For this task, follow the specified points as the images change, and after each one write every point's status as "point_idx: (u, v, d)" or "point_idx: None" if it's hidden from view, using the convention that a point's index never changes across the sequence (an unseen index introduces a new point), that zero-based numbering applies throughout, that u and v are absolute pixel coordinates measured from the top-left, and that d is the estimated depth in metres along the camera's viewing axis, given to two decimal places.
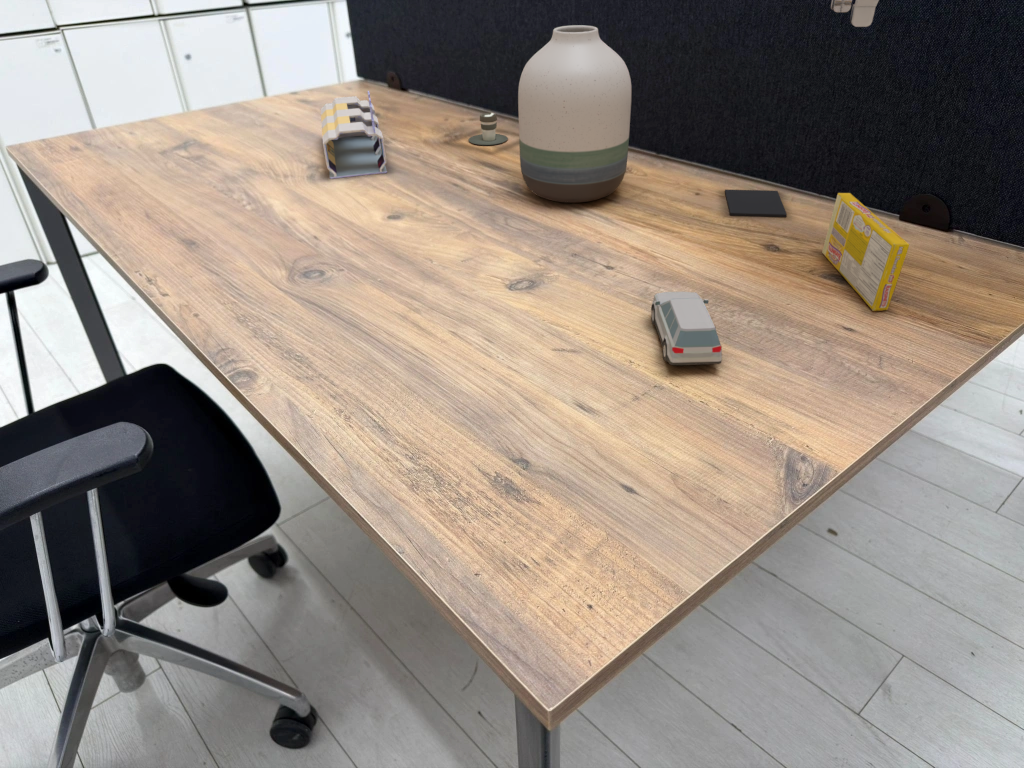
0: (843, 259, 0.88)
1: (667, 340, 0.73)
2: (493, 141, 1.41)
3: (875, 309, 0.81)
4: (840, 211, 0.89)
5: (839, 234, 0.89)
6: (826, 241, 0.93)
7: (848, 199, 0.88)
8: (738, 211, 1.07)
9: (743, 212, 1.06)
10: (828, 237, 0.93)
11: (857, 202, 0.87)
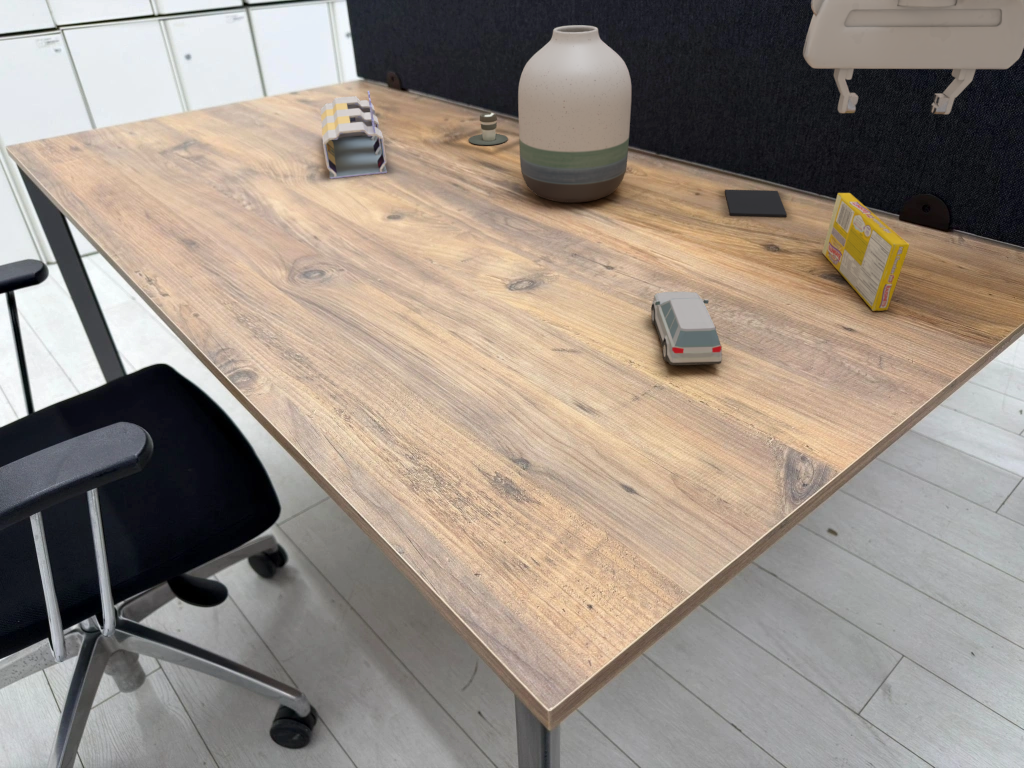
0: (843, 259, 0.88)
1: (667, 340, 0.73)
2: (493, 141, 1.41)
3: (875, 309, 0.81)
4: (840, 211, 0.89)
5: (839, 234, 0.89)
6: (826, 241, 0.93)
7: (848, 199, 0.88)
8: (738, 211, 1.07)
9: (743, 212, 1.06)
10: (828, 237, 0.93)
11: (857, 202, 0.87)
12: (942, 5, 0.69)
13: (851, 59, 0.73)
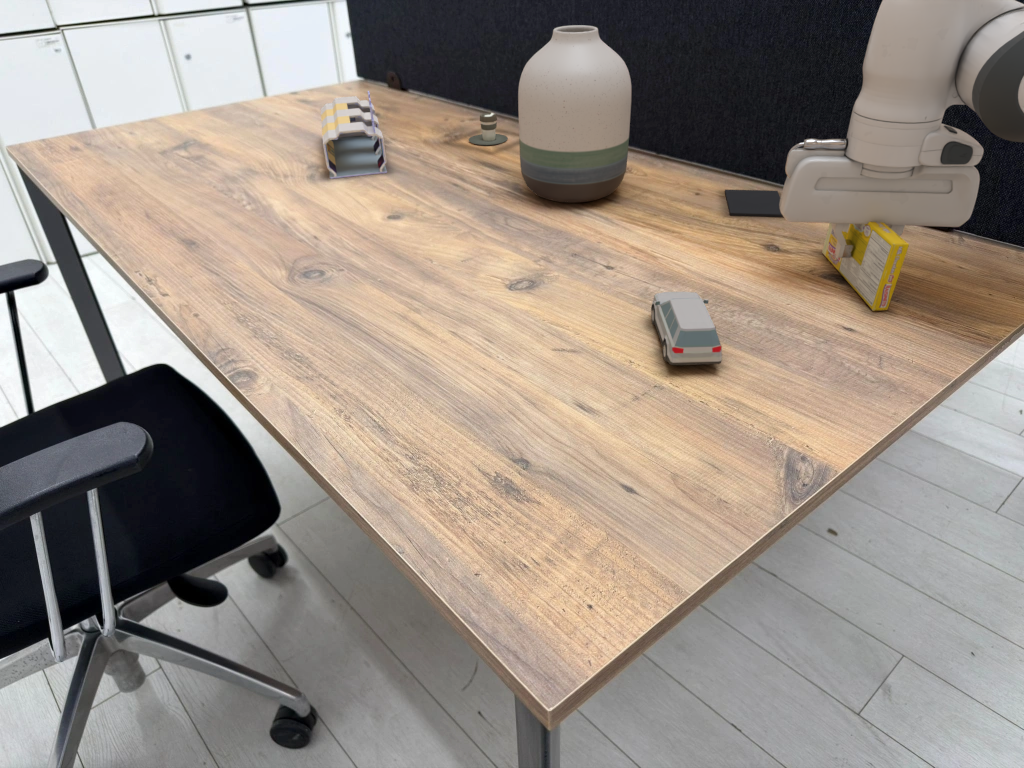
0: (843, 259, 0.88)
1: (667, 340, 0.73)
2: (493, 141, 1.41)
3: (875, 309, 0.81)
4: None
5: None
6: (826, 241, 0.93)
7: None
8: (738, 211, 1.07)
9: (743, 212, 1.06)
10: (828, 237, 0.93)
11: None
12: (899, 178, 0.78)
13: (821, 216, 0.83)
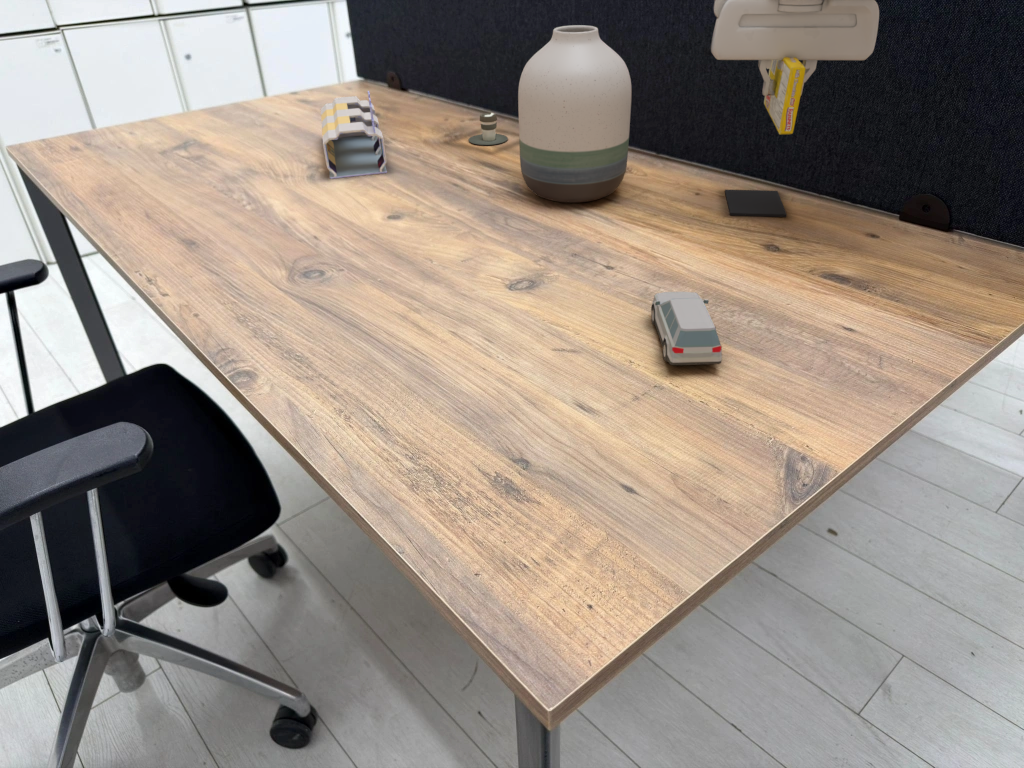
0: (770, 100, 1.00)
1: (667, 340, 0.73)
2: (493, 141, 1.41)
3: (781, 132, 0.93)
4: None
5: None
6: None
7: None
8: (738, 211, 1.07)
9: (743, 212, 1.06)
10: None
11: None
12: (810, 11, 0.89)
13: (745, 52, 0.94)
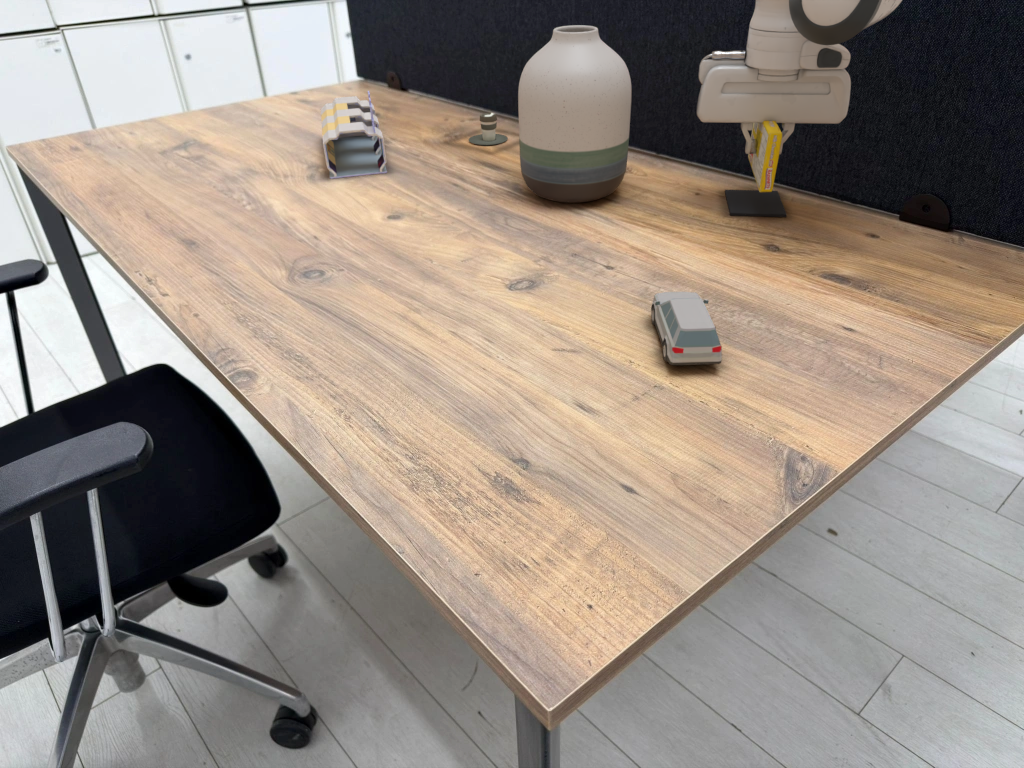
0: (753, 157, 1.07)
1: (667, 340, 0.73)
2: (493, 141, 1.41)
3: (761, 190, 1.01)
4: None
5: (753, 137, 1.08)
6: None
7: None
8: (738, 211, 1.07)
9: (743, 212, 1.06)
10: None
11: None
12: (786, 80, 0.97)
13: (728, 116, 1.02)
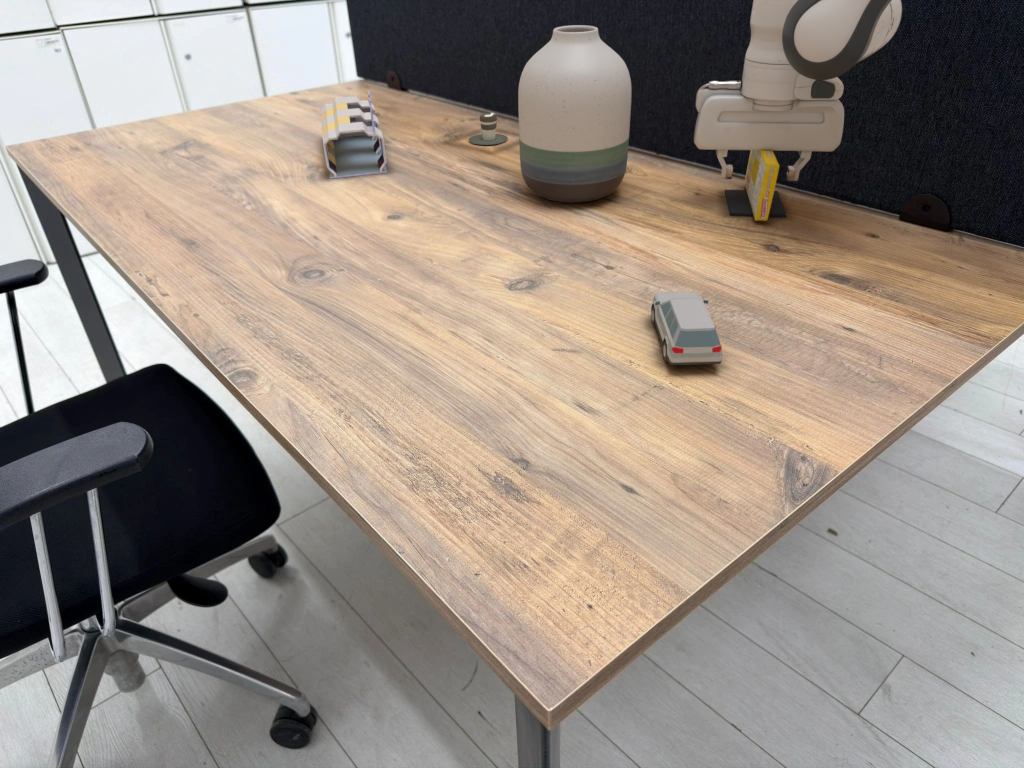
0: (749, 184, 1.10)
1: (667, 340, 0.73)
2: (493, 141, 1.41)
3: (757, 219, 1.03)
4: None
5: (750, 165, 1.11)
6: (746, 172, 1.15)
7: None
8: (738, 211, 1.07)
9: (743, 212, 1.06)
10: (747, 169, 1.14)
11: None
12: (781, 110, 0.99)
13: (724, 144, 1.04)
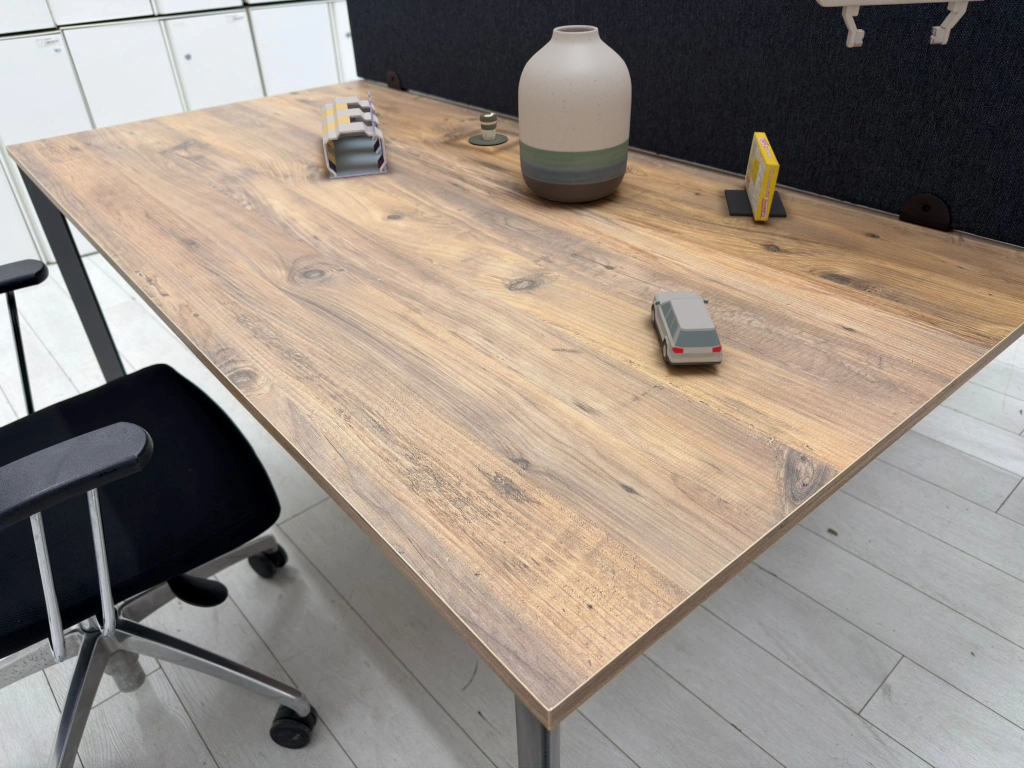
0: (749, 184, 1.10)
1: (667, 340, 0.73)
2: (493, 141, 1.41)
3: (757, 219, 1.03)
4: (753, 146, 1.11)
5: (750, 165, 1.11)
6: (746, 172, 1.15)
7: (758, 136, 1.09)
8: (738, 211, 1.07)
9: (743, 212, 1.06)
10: (747, 169, 1.14)
11: (763, 138, 1.09)
12: None
13: None
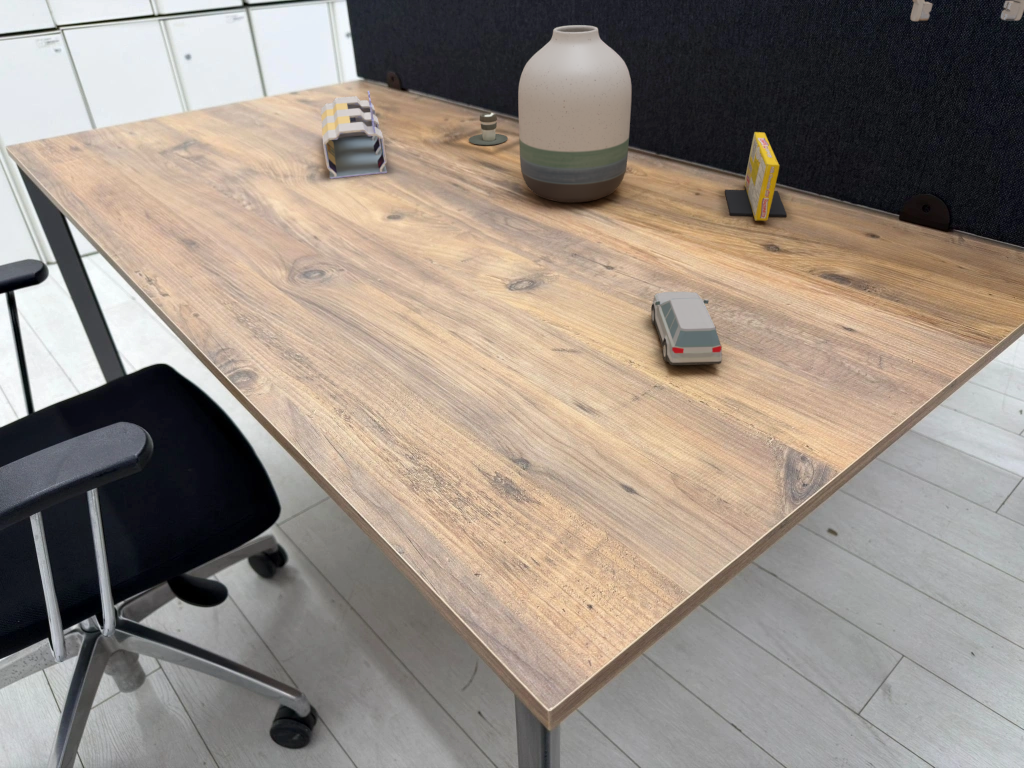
0: (749, 184, 1.10)
1: (667, 340, 0.73)
2: (493, 141, 1.41)
3: (757, 219, 1.03)
4: (753, 146, 1.11)
5: (750, 165, 1.11)
6: (746, 172, 1.15)
7: (758, 136, 1.09)
8: (738, 211, 1.07)
9: (743, 212, 1.06)
10: (747, 169, 1.14)
11: (763, 138, 1.09)
12: None
13: None
